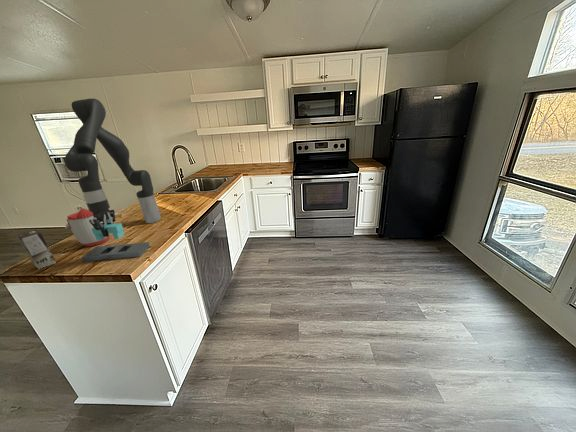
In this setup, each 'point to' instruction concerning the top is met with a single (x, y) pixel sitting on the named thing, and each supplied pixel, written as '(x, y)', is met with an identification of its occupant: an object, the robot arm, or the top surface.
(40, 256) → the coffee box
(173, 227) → the top surface
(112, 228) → the teal rectangular block
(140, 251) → the grey board with holes
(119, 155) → the robot arm
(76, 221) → the citrus juicer
